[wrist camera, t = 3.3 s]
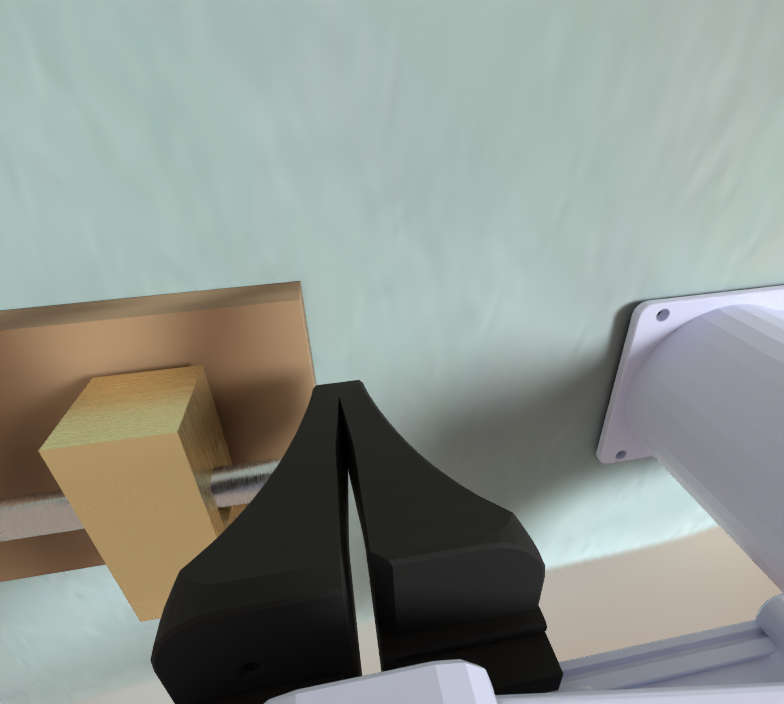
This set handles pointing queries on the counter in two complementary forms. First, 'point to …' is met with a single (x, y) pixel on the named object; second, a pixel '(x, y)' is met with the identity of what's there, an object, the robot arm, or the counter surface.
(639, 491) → the counter surface
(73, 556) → the base
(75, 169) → the counter surface
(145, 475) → the nut
